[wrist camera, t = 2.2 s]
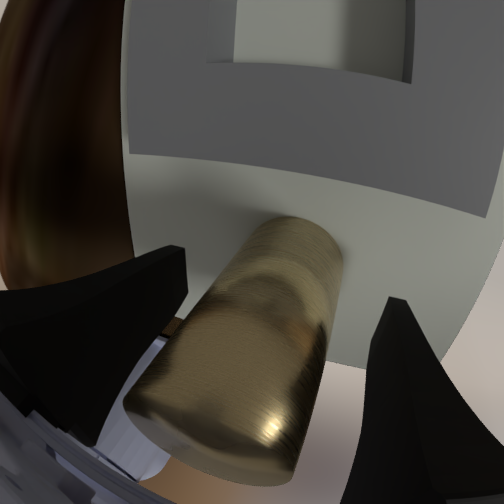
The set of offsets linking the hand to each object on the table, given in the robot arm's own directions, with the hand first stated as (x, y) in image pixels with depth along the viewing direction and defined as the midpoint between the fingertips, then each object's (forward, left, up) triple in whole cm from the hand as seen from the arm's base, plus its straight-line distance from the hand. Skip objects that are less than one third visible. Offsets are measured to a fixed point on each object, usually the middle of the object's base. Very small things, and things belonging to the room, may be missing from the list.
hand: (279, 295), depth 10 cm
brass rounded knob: (0, 0, -2) cm, 2 cm away
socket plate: (+6, 0, -3) cm, 7 cm away
